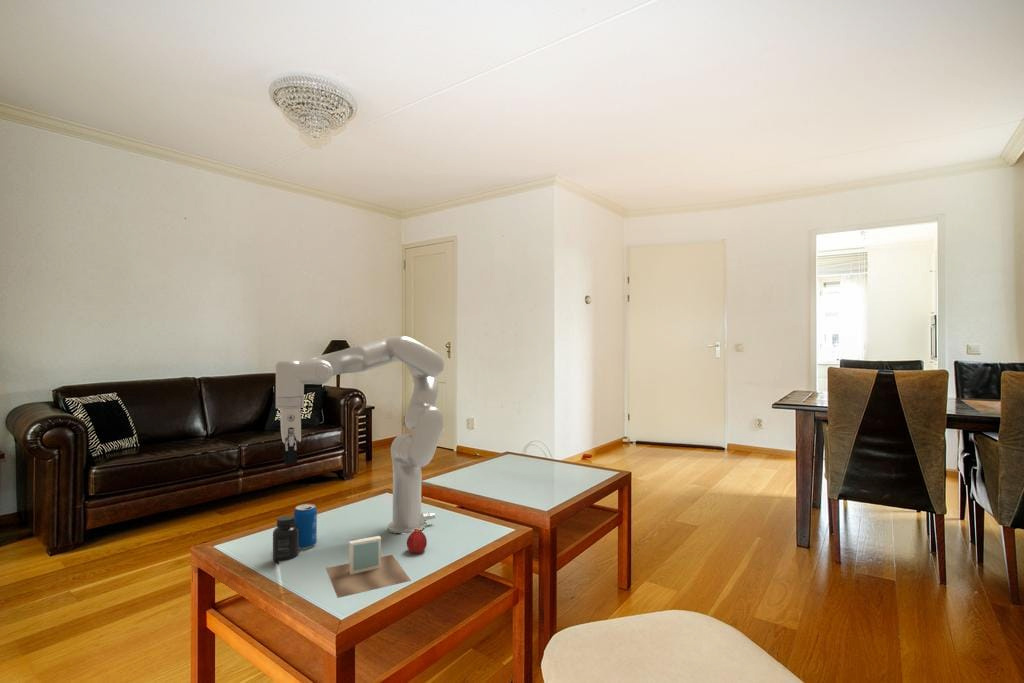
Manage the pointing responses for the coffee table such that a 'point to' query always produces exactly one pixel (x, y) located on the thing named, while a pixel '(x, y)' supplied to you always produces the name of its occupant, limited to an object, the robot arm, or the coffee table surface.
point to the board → (366, 577)
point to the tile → (364, 554)
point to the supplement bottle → (285, 539)
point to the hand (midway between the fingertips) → (290, 461)
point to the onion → (416, 541)
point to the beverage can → (306, 525)
